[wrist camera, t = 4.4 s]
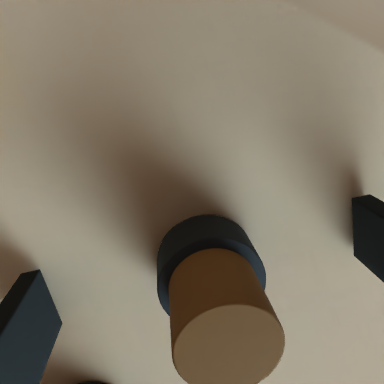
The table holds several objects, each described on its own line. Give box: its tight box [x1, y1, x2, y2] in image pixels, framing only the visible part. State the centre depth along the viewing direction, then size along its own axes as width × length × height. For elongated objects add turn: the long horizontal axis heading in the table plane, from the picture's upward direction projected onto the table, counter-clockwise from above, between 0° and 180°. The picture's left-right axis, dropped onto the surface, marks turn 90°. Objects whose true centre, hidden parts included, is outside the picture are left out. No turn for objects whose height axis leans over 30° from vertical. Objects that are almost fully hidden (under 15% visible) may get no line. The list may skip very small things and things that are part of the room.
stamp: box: [157, 215, 285, 384], centre depth 12 cm, size 4×4×5 cm
